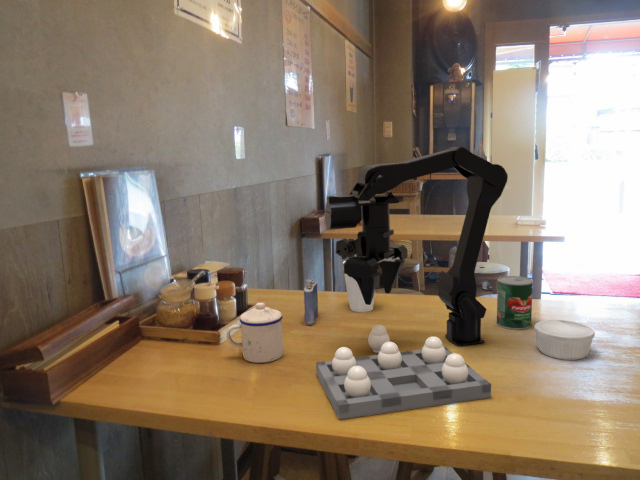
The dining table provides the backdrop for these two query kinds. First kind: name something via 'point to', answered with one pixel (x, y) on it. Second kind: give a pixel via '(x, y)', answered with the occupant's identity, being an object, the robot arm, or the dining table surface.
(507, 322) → the canned tomato
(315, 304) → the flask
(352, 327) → the dining table surface
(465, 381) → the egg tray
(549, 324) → the ramekin
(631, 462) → the dining table surface
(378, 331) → the cream game piece
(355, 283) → the foam cup
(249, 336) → the teacup with lid
